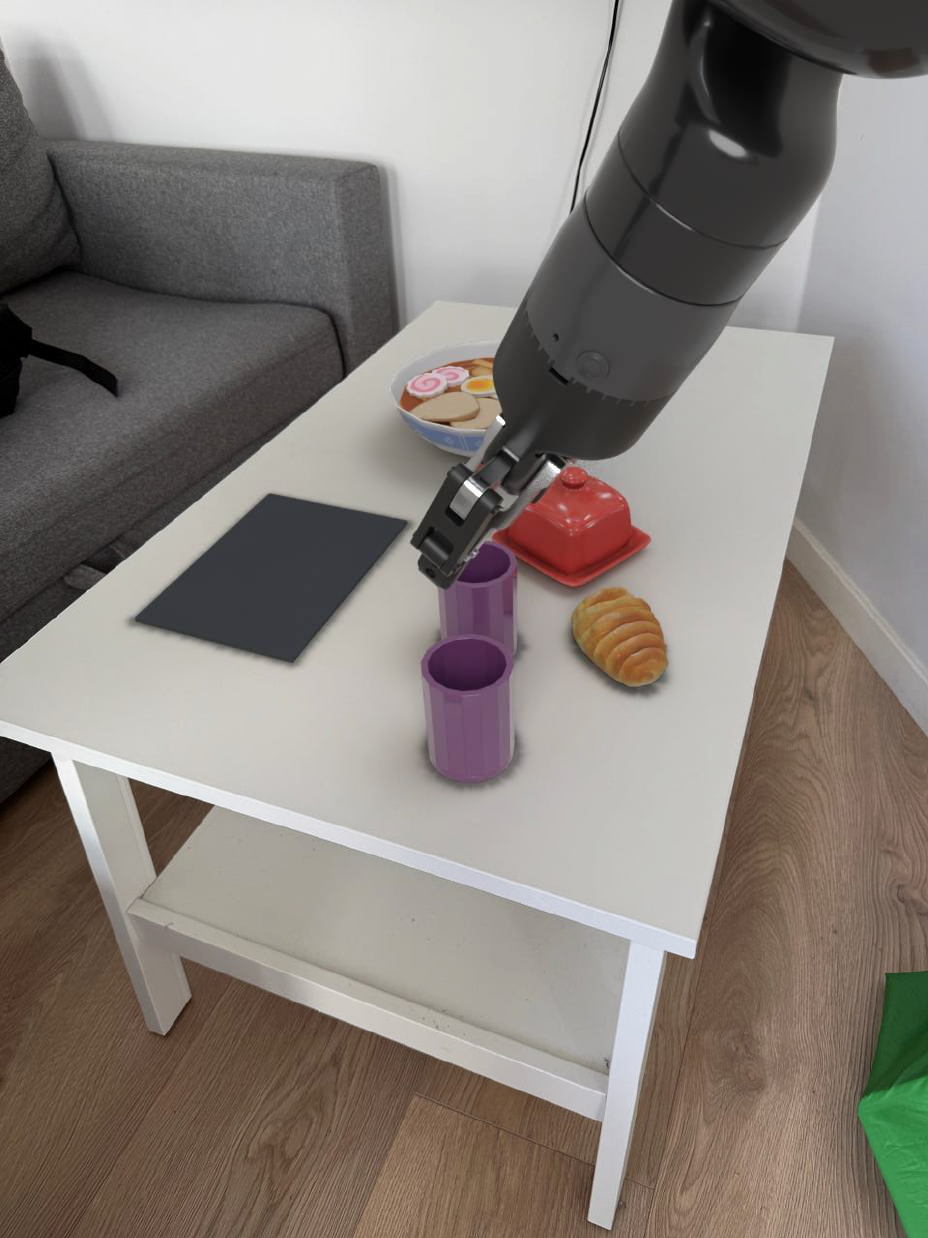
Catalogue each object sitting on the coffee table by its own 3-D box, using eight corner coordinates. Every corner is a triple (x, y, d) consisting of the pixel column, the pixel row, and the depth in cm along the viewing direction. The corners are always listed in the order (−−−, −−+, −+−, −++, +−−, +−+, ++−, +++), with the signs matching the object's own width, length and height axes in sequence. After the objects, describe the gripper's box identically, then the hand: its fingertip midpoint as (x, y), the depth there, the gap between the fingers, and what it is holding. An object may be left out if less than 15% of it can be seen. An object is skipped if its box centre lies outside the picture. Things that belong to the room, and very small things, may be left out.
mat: (292, 662, 75) (291, 659, 75) (135, 621, 80) (134, 617, 80) (407, 523, 91) (407, 520, 90) (269, 496, 96) (269, 492, 95)
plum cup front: (452, 795, 63) (446, 707, 58) (415, 738, 68) (405, 652, 62) (529, 762, 66) (530, 675, 60) (488, 709, 70) (485, 623, 65)
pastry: (688, 680, 72) (694, 643, 69) (609, 702, 70) (612, 665, 68) (634, 610, 79) (637, 574, 76) (561, 628, 77) (562, 593, 75)
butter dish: (657, 549, 85) (666, 469, 80) (572, 602, 80) (576, 519, 74) (568, 503, 92) (571, 426, 87) (484, 548, 87) (481, 469, 81)
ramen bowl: (436, 385, 115) (432, 322, 110) (617, 405, 109) (621, 338, 104) (357, 485, 97) (347, 414, 92) (568, 515, 91) (571, 440, 85)
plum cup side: (463, 680, 73) (458, 596, 67) (429, 637, 77) (422, 554, 72) (530, 655, 75) (531, 570, 69) (494, 614, 79) (492, 531, 74)
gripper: (629, 203, 42) (502, 426, 55) (441, 339, 34) (347, 559, 47) (755, 309, 41) (595, 507, 55) (594, 471, 33) (454, 655, 47)
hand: (480, 531), depth 51 cm, fingers open, 8 cm apart
